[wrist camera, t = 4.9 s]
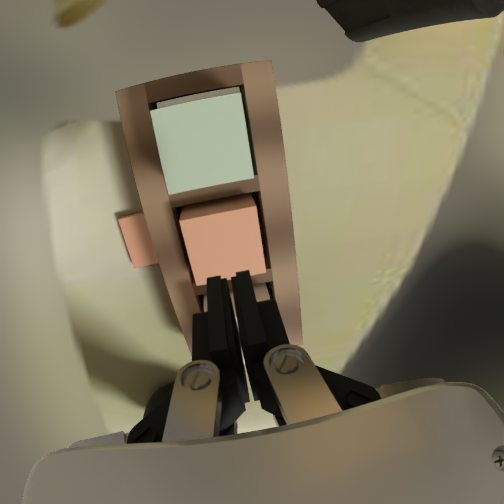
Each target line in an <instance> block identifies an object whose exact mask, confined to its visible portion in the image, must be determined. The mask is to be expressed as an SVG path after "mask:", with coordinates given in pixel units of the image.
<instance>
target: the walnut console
mask: <svg viewBox="0 0 504 504" xmlns="http://www.w3.org/2000/svg"><path fill="white" fill-rule="evenodd" d="M232 87H239V88H240V93H241V98H242V104H243V110H244V116H245V122H246V129H247V135H248V141H249V148H250V154H251V161H252V167H253V174H254V178H252V179H246V180H241V181H235V182H230V183H225V184H219V185H214V186H209V187H204V188H199V189H194V190H190V191H185V192H180V193H175V194H171V195H169V194H168V190H167V186H166V182H165V178H164V173H163V169H162V165H161V160H160V156H159V151H158V147H157V142H156V137H155V133H154V128H153V123H152V118H151V113H150V111H151V110H155V109H157V104H156V103H157V102H162V101H166V100H170V99H175V98H179V97H184V96H188V95H193V94H198V93H203V92H209V91H214V90H220V89H226V88H232ZM116 98H117V103H118V108H119V113H120V118H121V122H122V127H123V132H124V136H125V141H126V145H127V149H128V154H129V158H130V162H131V166H132V170H133V174H134V178H135V182H136V186H137V190H138V193H139V197H140V201H141V204H142V208H143V212H144V215H145V219H146V222H147V226H148V229H149V233H150V236H151V239H152V243H153V246H154V249H155V252H156V256H157V259H158V262H159V265H160V268H161V271H162V274H163V277H164V280H165V283H166V286H167V289H168V292H169V295H170V298H171V301H172V304H173V307H174V310H175V312H176V315H177V318H178V321H179V324H180V326H181V329H182V332H183V334H184V337H185V340H186V342H187V345H188V348H189V350H190V353H191V355H192V317H193V314H194V313H200V312H204V300H203V297H202V294H207V284H205V285H199V286H197V285H196V282H195V278H194V275H193V271H192V267H191V264H190V260H189V256H188V253H187V249H186V245H185V241H184V237H183V234H182V230H181V226H180V222H179V220H180V216H181V214H180V210H179V206H183V205H188V204H192V203H197V202H202V201H207V200H212V199H218V198H223V197H228V196H233V195H239V194H244V193H250V192H255V191H256V196H257V202H258V209H259V216H260V222H261V229H262V236H263V242H264V249H263V254H264V260H265V267H266V273H262V274H257V275H252V276H251V280H252V284H253V285H254V284H260V283H265V282H269V283H270V290H271V297H272V299H274V298H275V300H276V302H277V305H278V308H279V312H280V315H281V318H282V321H283V324H284V327H285V330H286V333H287V337H288V340H289V343H290V344H293V345H297V346H298V345H303V336H302V322H301V309H300V296H299V284H298V273H297V262H296V251H295V241H294V231H293V221H292V212H291V203H290V194H289V185H288V176H287V168H286V160H285V152H284V144H283V137H282V129H281V122H280V115H279V107H278V100H277V94H276V87H275V80H274V74H273V67H272V61H271V60H266V61H258V62H250V63H242V64H234V65H228V66H221V67H215V68H210V69H205V70H199V71H194V72H189V73H184V74H179V75H175V76H171V77H166V78H162V79H158V80H154V81H150V82H146V83H143V84H139V85H135V86H132V87H128V88H125V89H121V90H118V91H116ZM227 282H228V287H229V289H232V283H231V280H227Z"/></svg>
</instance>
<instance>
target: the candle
mask: <svg viewBox="0 0 504 504" xmlns="http://www.w3.org/2000/svg"><path fill="white" fill-rule="evenodd" d="M317 3H318V4H319V6H320V7H321V8H325V9H326V10H327V11H328V12H329V13H330V15H331V16H332V17H333V18H334V19H335V20H336V21H337V23H338V24H339V25H340V26H341V27H342V28H343V29H344V30H345V35H346V36H347V37H348V38H349V39H351V40H352V41H355V42H364V41H368V40H371V39H375V38H379V37H383V36H387V35H391V34H395V33H399V32H403V31H408V30H412V29H417V28H422V27H427V26H433V25H438V24H444V23H450V22H457V21H464V20H472V19H481V18H492V17H495V16H497V15H499V14H500V13H501V12H502V11H504V0H317Z"/></svg>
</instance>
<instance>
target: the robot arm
mask: <svg viewBox="0 0 504 504" xmlns="http://www.w3.org/2000/svg"><path fill="white" fill-rule="evenodd" d="M231 283H232V290H233V297H234V303H235V310H236V317H237V322H236V318H235V313H234V309H233V304H232V300H231V296H230V291H229V287H228V282H227V278H223V279H221V276H220V275H219V276H214V277H208V278H207V311H206V312H200V313H194V314H193V317H192V362H190V363H187V364H186V365H184V366H183V367H182V368H181V369H180V370H179V371H178V373H177V376H176V379H175V383H174V388H173V392H172V394H171V395H170V396H168V397H167V398H166V399H165V400H164V401H163V402H162V403H161V404H159V405H158V406H157V407H156V408H155V409H154V410H153V411H151V412H150V413H149V414H148V415H147V416H146V417H145V418H143V419H142V420H141V421H140V422H139V423H138V424H136V425H135V426H134V427H133V428H132V430H131V431H130V432H129V433H124V432H123V431H121V432H117V433H113V434H109V435H105V436H100V437H95V438H91V439H85V440H80V441H77V442H75V443H73V444H72V445H71V446H70V447H69V448H64V449H60V450H58V451H54V452H51V453H49V454H47V455H45V456H43V457H42V458H40V459H39V460H38V461H37V462H36V463H35V465H34V466H33V468H32V470H31V472H30V474H29V477H28V480H27V483H26V486H25V490H24V494H23V499H22V504H504V412H503V411H502V410H501V408H500V407H499V406H498V405H497V403H496V402H495V401H494V400H493V399H492V398H491V396H489V394H487V393H486V392H485V391H484V390H483V389H481V388H480V387H478V386H476V385H473V384H470V383H461V382H460V383H459V382H451V383H447V382H445V381H444V380H443V379H440V378H426V379H420V380H414V381H407V382H401V383H394V384H386V385H382V388H377V389H375V388H373V387H371V386H369V385H367V384H364V383H362V382H359V381H356V380H353V379H350V378H348V377H345V376H342V375H340V374H337V373H334V372H332V371H329V370H326V369H324V368H321V367H319V366H316V365H314V363H313V361H312V360H311V358H310V356H309V355H308V353H307V352H306V351H305V350H304V349H303V348H301V347H300V346H297V345H293V344H290V343H289V340H288V337H287V333H286V330H285V327H284V324H283V321H282V318H281V315H280V312H279V308H278V305H277V302H276V300H275V298H274V299H269V300H264V301H259V302H257V300H256V296H255V292H254V288H253V284H252V280H251V276H250V271H249V270H245V271H240V272H236V276H234V277H231ZM237 324H238V326H237ZM238 330H239V331H238ZM241 348H242V349H241ZM242 353H243V355H242ZM243 357H244V361H245V365H246V369H247V373H248V377H249V381H250V385H251V389H252V393H253V397H254V401H257V400H260V403H261V407H262V409H264V410H266V411H268V412H269V413H271V414H273V416H274V420H275V422H276V425H277V427H274V428H268V429H263V430H258V431H252V432H246V433H240V434H237V428H238V424H237V419H238V418H239V417H240V415H241V414H242V413H243V412H244V411H246V409H245V403H246V402H250V399H249V393H248V387H247V380H246V374H245V368H244V362H243Z"/></svg>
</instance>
